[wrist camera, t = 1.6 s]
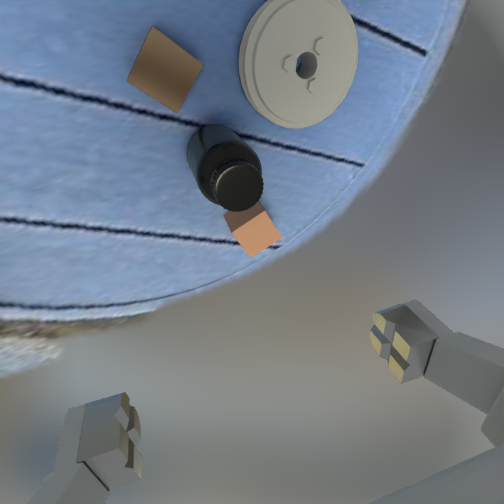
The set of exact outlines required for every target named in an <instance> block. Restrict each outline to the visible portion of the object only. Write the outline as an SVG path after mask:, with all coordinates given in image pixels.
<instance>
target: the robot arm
mask: <svg viewBox="0 0 504 504" xmlns="http://www.w3.org/2000/svg"><path fill="white" fill-rule="evenodd" d="M372 322H373V323H374V326H373V327H372V328H371V330H370V340H371V343H372V346H373V348H374V350H375V351H376V352H377V354H378V355H379V356H380V357H382V358H384V359H386V360H388V368H389V369H390V370H391V371H392V373H393V374H394V375H395V377H396V378H397V379H398V380H399V382H400V383H401V384H402V383H405V382H408V381H411V380H414V379H417V378H420V377H423V376H424V378H426V379H428V380H429V381H431V382H433V383H434V384H436V385H438V386H439V387H441V388H443V389H445V390H446V391H448V392H450V393H451V394H453V395H455V396H456V397H458V398H460V399H462V400H463V401H465V402H467V403H469V404H470V405H472V406H474V407H475V408H477V409H479V410H480V411H482V412H484V413H486V414H487V416H486V418H485V420H484V422H483V424H482V425H481V431H482V432H483V433H484V435H485V436H486V437H487V438H488V439H489V440H490V442H491V443H492V444H493V445H494V446H495V448H493V449H490V450H488V451H486V452H484V453H481V454H479V455H477V456H474V457H472V458H470V459H467V460H465V461H463V462H460V463H458V464H456V465H454V466H452V467H449V468H447V469H445V470H442V471H440V472H437V473H435V474H433V475H430V476H428V477H426V478H424V479H421V480H419V481H417V482H414V483H412V484H410V485H408V486H405V487H403V488H401V489H398V490H396V491H394V492H391V493H389V494H387V495H385V496H382V497H380V498H378V499H376V500H373V501H371V502H368V503H366V504H504V349H503V348H500V347H498V346H495V345H492V344H490V343H487V342H484V341H482V340H479V339H476V338H474V337H471V336H468V335H466V334H463V333H460V332H455V333H454V332H453V331H452V330H450V329H449V328H448V327H447V326H446V325H445V324H444V323H443V322H441V321H440V320H439V319H438V318H437V317H436V316H435V315H434V314H433V313H431V312H430V311H429V310H428V309H427V308H426V307H425V306H424V305H422V304H421V303H420V302H419V301H417V300H412V301H409V302H406V303H403V304H398V305H395V306H392V307H389V308H387V309H383V310H380V311H377V312H375V313H374V314H373V315H372ZM140 439H141V427H140V421H139V416H138V413H137V411H136V409H135V407H133V406H130V405H129V397H128V395H127V394H126V393H125V392H124V393H120V394H117V395H114V396H110V397H107V398H103V399H100V400H96V401H93V402H90V403H86V404H83V405H80V406H77V407H73V408H70V409H69V410H68V412H67V414H66V415H65V420H64V425H63V430H62V434H61V440H60V444H59V449H58V455H57V459H56V464H55V469H54V472H52V473H49V474H48V475H47V476H46V477H45V479H44V480H43V482H42V483H41V485H40V486H39V487H38V489H37V491H36V492H35V493H34V495H33V496H32V497H31V499H30V500H29V502H28V503H27V504H106V502H107V500H108V497H109V495H110V493H109V492H110V491H113V490H116V489H118V488H120V487H123V486H126V485H128V484H131V483H133V482H136V481H138V480H140V479H141V454H140V452H139V451H138V449H137V445H138V443H139V441H140Z"/></svg>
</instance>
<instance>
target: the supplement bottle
mask: <svg viewBox="0 0 504 504" xmlns="http://www.w3.org/2000/svg"><path fill="white" fill-rule="evenodd" d="M187 159H188V163H189V166H190V168H191V170H192V173H193V175H194V177H195V180H196V182H197V184H198V187H199V189H200V190H201V192H202V194H203V195H204V196H205V197H206V198H207V199H208V200H209V201H211V202H213V203H214V204H217V205H220V206H222V207H223V208H224V209H227V210H228V211H232V212H235V211H236V212H239V211H244V210H247V209H249V208H251V207H252V206H254V205H255V204H256V203H257V202H258V200H259V199H260V198H261V195H262V191H263V185H264V183H263V179H262V167H261V163H260V160H259V158H258V156H257V154H256V153H255V152H254V151H253V149H252V148H251V147H250V146H248V145H247V144H246V143H245V142H244V141H243V140H242V139H241V138H240V137H239V136H238V135H237V134H236V133H234V132H233V131H232V130H231V129H229V128H227V127H225V126H222V125H208V126H205V127H203V128H201V129H199V130H198V131H197V132H196V133H195V134H194V135H193V136H192V138H191V139H190V141H189V144H188V147H187Z"/></svg>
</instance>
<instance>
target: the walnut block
mask: <svg viewBox="0 0 504 504" xmlns="http://www.w3.org/2000/svg"><path fill="white" fill-rule="evenodd" d="M202 66H203V64H202V63H201V62H199V61H198V60H197V59H195V58H194V57H193V56H191V55H190V54H189V53H187V52H186V51H185V50H184V49H182V48H181V47H180V46H178V45H177V44H176V43H174V42H173V41H172V40H170V39H169V38H168V37H166V36H165V35H164V34H163V33H161V32H160V31H159V30H157V29H156V28H155V27H153V26H152V27H151V28H150V30H149V32H148V35H147V37H146V39H145V41H144V43H143V45H142V48H141V50H140V52H139V54H138V56H137V58H136V61H135V63H134V65H133V67H132V69H131V71H130V74H129V76H128V79H127V82H128V83H130V84H132V85H133V86H135V87H136V88H138V89H139V90H141V91H142V92H144V93H146V94H147V95H149V96H150V97H152V98H153V99H155V100H157V101H158V102H160V103H161V104H163V105H164V106H166V107H168V108H169V109H171V110H172V111H174V112H175V113H178V111H179V109H180V108H181V106H182V104H183V102H184V100H185V98H186V96H187V94H188V93H189V91H190V89H191V87H192V85H193V83H194V81H195V79H196V78H197V76H198V74H199V72H200V70H201V68H202Z"/></svg>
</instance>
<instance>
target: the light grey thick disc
mask: <svg viewBox="0 0 504 504" xmlns="http://www.w3.org/2000/svg"><path fill="white" fill-rule="evenodd" d="M299 56H301V60H302V63H301V67H300V70H299V71H298V72H297V73H296V70H295V69H296V64H297V59H298V57H299ZM357 61H358V39H357V33H356V29H355V26H354V23H353V20H352V18H351V16H350V14H349V12H348V10H347V9H346V7H345V6H344V5H343V3H342V2H341V1H340V0H268V1H266V2H265V3H264V4H263V5H262V6H261V7H260V8H259V9H258V10H257V11H256V13H255V14H254V15H253V17H252V18H251V20H250V22H249V23H248V25H247V27H246V30H245V32H244V35H243V38H242V41H241V45H240V51H239V75H240V81H241V84H242V87H243V90H244V93H245V95H246V97H247V99H248V100H249V102H250V103H251V105H252V106H253V107H254V108H255V110H256V111H257V112H259V113H260V114H261V115H262V116H264V117H265V118H267V119H268V120H270V121H271V122H273V123H275V124H277V125H279V126H282V127H285V128H292V129H299V128H305V127H309V126H312V125H314V124H317V123H319V122H320V121H322V120H324V119H325V118H327V117H328V116H329V115H330V114H331V113H333V111H334V110H335V109H336V108H337V107H338V106H339V105H340V103H341V102H342V101H343V99H344V98H345V96H346V94H347V93H348V91H349V89H350V86H351V84H352V81H353V79H354V76H355V72H356V67H357Z"/></svg>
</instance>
